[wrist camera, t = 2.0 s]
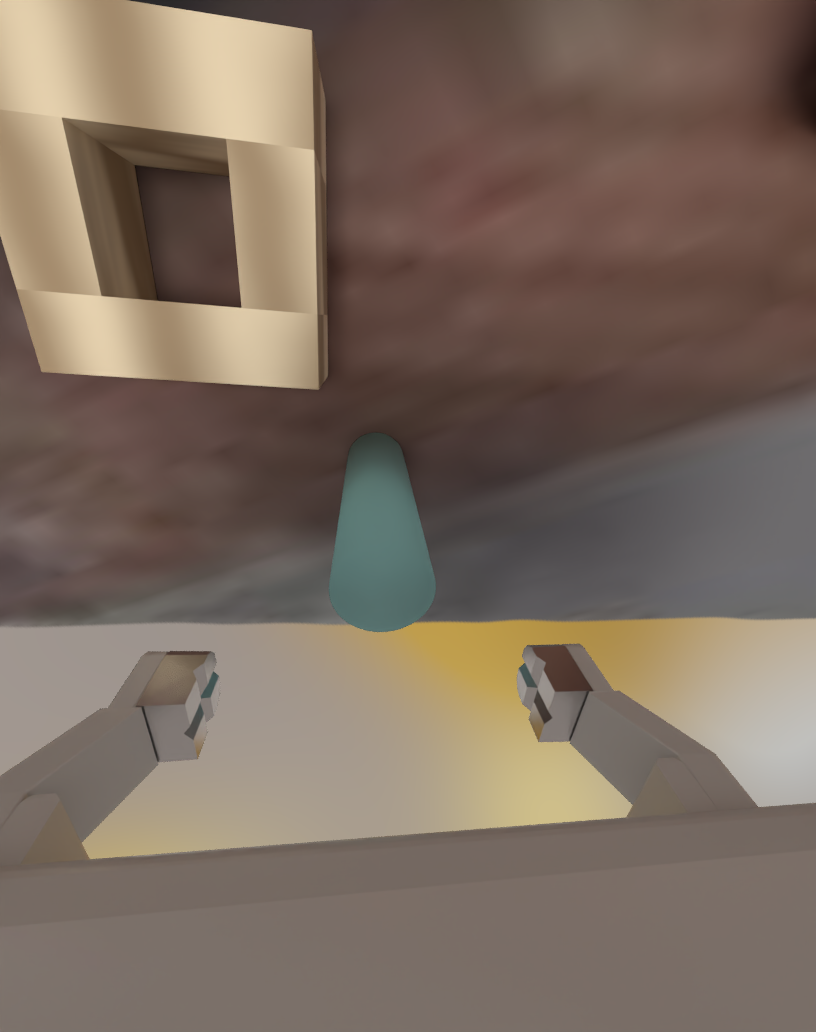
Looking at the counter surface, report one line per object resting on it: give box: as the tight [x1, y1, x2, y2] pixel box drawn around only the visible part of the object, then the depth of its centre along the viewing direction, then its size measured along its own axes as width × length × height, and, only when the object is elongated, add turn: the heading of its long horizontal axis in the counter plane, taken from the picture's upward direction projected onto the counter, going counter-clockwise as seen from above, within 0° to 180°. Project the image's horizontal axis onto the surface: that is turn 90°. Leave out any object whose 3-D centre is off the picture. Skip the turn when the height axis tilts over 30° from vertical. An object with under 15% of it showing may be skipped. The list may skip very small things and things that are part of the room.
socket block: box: [0, 0, 328, 390], centre depth 18 cm, size 12×12×5 cm
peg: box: [329, 433, 436, 632], centre depth 20 cm, size 4×4×14 cm
